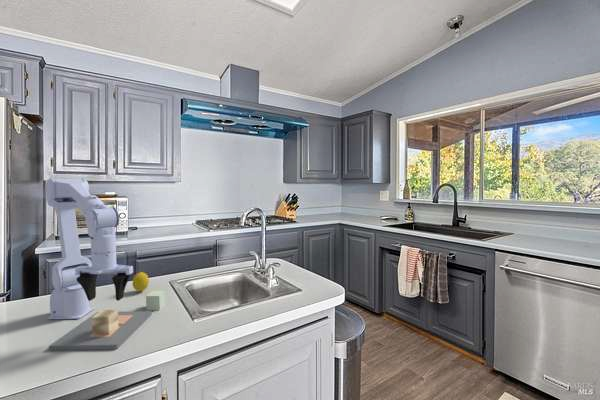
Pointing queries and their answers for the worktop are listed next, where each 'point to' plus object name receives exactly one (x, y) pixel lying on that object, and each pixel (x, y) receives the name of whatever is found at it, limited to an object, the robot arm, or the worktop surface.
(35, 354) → the worktop surface
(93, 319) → the maple block
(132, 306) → the worktop surface
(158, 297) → the sage block
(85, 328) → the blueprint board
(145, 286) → the lemon
